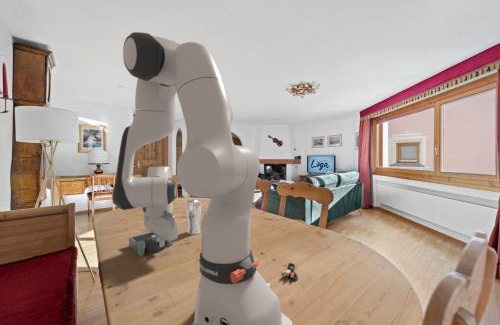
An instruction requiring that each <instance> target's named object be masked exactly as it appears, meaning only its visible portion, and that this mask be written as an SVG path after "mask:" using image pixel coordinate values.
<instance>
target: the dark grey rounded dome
mask: <svg viewBox="0 0 500 325" xmlns="http://www.w3.org/2000/svg"><path fill="white" fill-rule="evenodd" d="M165 248H166V247H165V246H164V247H159V246H158V245H157V244H156V238H155V235H152V236H151V237H149V238H146V239H145V243H144V253H146V254H155V253H159V252H162V251H163V250H164V249H165Z"/></svg>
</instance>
